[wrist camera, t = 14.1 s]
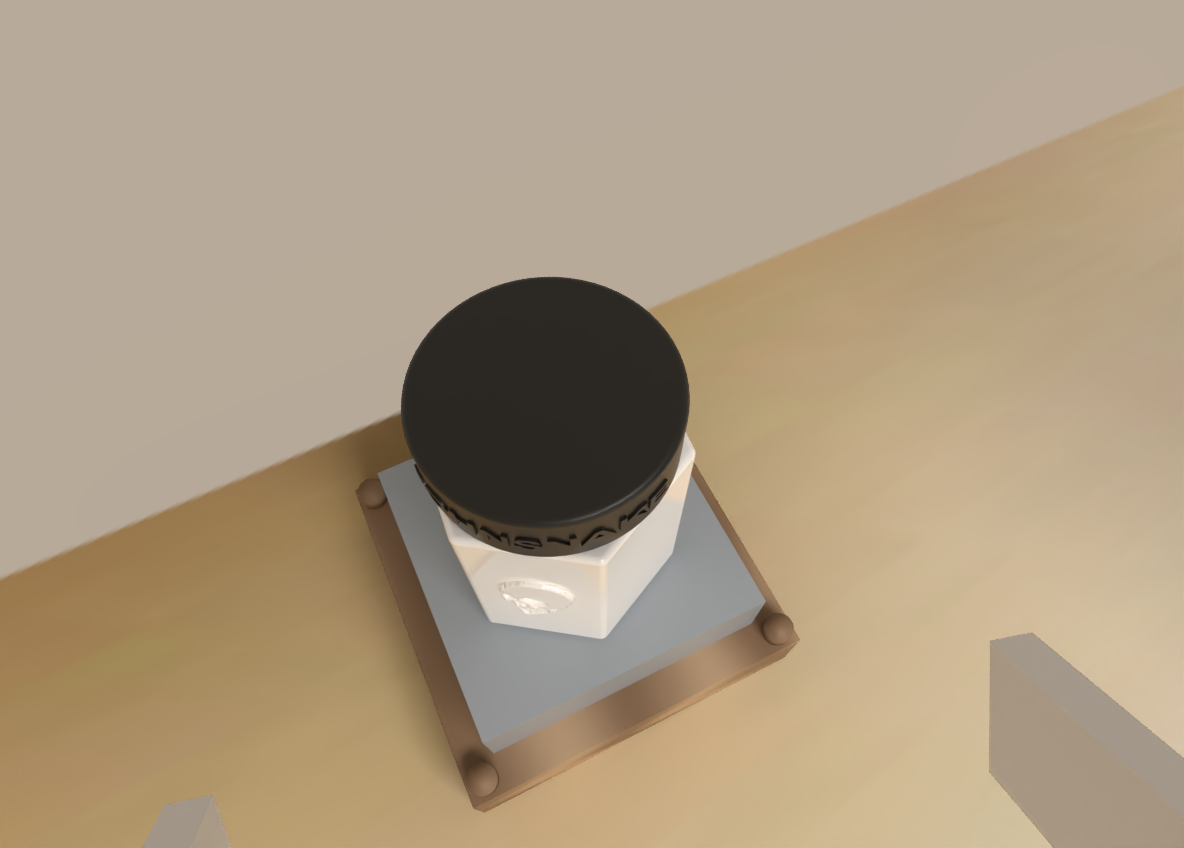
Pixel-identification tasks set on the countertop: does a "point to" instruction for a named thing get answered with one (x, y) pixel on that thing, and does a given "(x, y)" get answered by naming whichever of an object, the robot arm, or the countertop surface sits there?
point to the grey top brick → (564, 661)
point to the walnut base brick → (593, 725)
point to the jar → (552, 448)
